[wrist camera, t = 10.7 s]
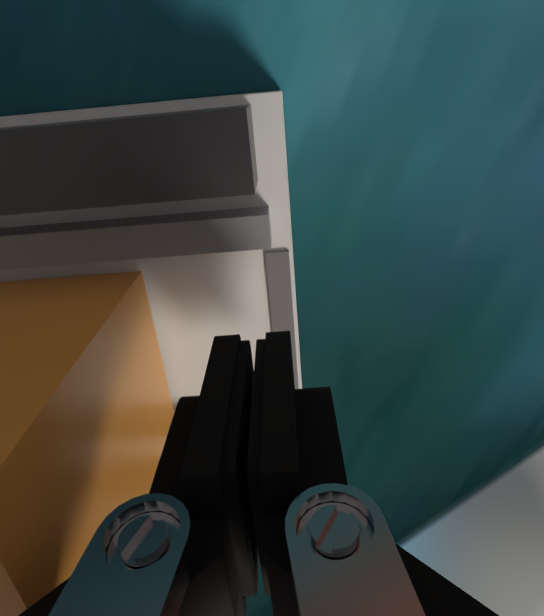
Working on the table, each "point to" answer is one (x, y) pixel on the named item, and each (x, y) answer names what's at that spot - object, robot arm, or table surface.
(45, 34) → the table surface
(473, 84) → the table surface
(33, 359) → the orange rectangular block
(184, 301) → the breaker panel
